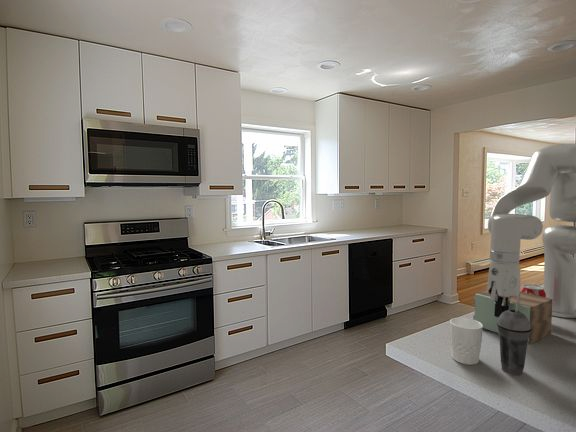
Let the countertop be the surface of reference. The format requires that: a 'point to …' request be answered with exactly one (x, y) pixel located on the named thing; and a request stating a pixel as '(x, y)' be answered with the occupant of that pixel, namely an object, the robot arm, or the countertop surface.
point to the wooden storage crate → (535, 313)
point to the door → (487, 310)
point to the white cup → (465, 340)
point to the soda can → (534, 290)
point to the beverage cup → (513, 339)
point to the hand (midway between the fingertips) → (501, 317)
